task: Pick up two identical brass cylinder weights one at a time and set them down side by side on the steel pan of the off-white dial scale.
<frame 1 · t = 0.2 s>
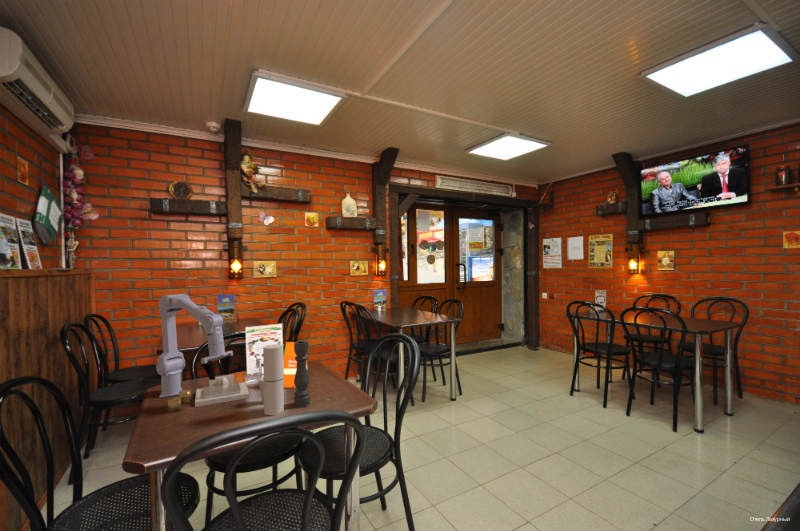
hand: (220, 377, 148), 11 cm above the table, tool pointing down, fingers open, 7 cm apart
cylindrical container: (274, 412, 138), on the table
smoothie: (267, 402, 148), on the table
brass weight a: (185, 400, 151), on the table
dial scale: (222, 395, 157), on the table
scale pan: (222, 389, 157), point 3 cm above the table, slide at -0.4 cm
candle holder: (302, 405, 145), on the table
brass weight b: (174, 409, 142), on the table
orange juice: (295, 385, 170), on the table
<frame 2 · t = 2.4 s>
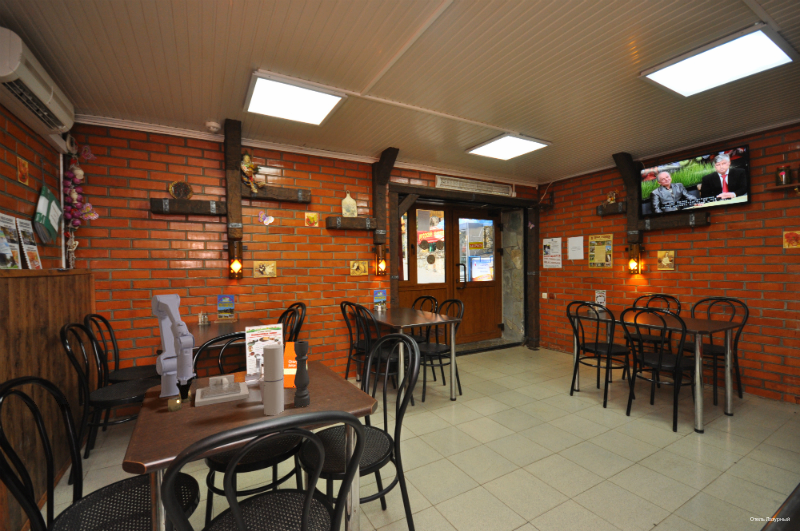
hand: (185, 397, 151), 1 cm above the table, tool pointing down, fingers closed on brass weight a, 4 cm apart
brass weight a: (185, 400, 151), on the table, touching gripper
everything else where it was.
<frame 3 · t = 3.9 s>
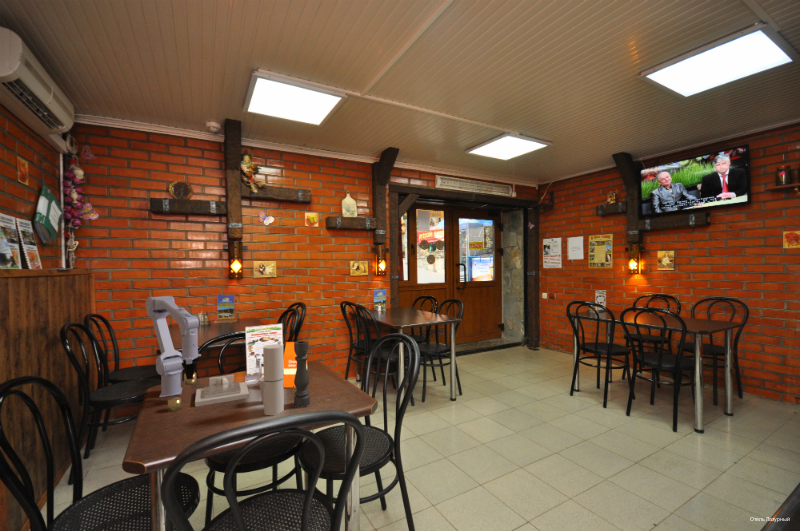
hand: (190, 377, 152), 9 cm above the table, tool pointing down, fingers closed on brass weight a, 4 cm apart
brass weight a: (190, 383, 152), point 7 cm above the table, touching gripper
everything else where it was.
when the fingers open (6 cm above the table, at t = 5.4 s): brass weight a stays where it is, resting on scale pan.
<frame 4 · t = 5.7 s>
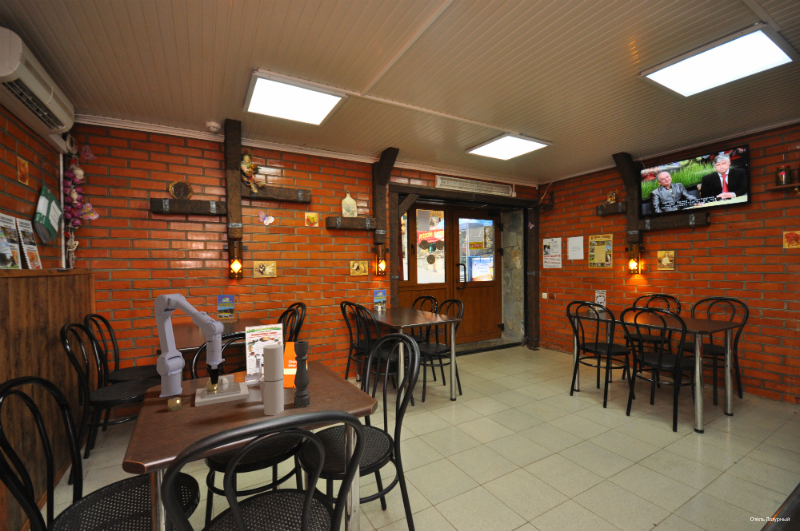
hand: (214, 381, 155), 6 cm above the table, tool pointing down, fingers open, 7 cm apart
brass weight a: (212, 389, 155), point 3 cm above the table, touching scale pan
scale pan: (222, 389, 157), point 3 cm above the table, slide at -0.4 cm, touching brass weight a
everything else where it was.
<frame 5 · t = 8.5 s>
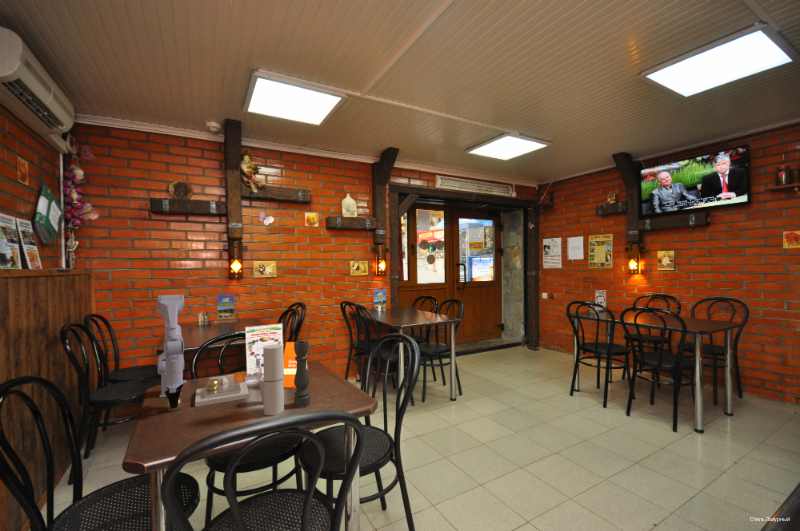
hand: (174, 405, 142), 1 cm above the table, tool pointing down, fingers closed on brass weight b, 4 cm apart
brass weight b: (174, 409, 142), on the table, touching gripper
everything else where it was.
when the fingers open (9 cm above the table, at t = 10.6 s): brass weight b drops 1 cm, point 5 cm above the table.
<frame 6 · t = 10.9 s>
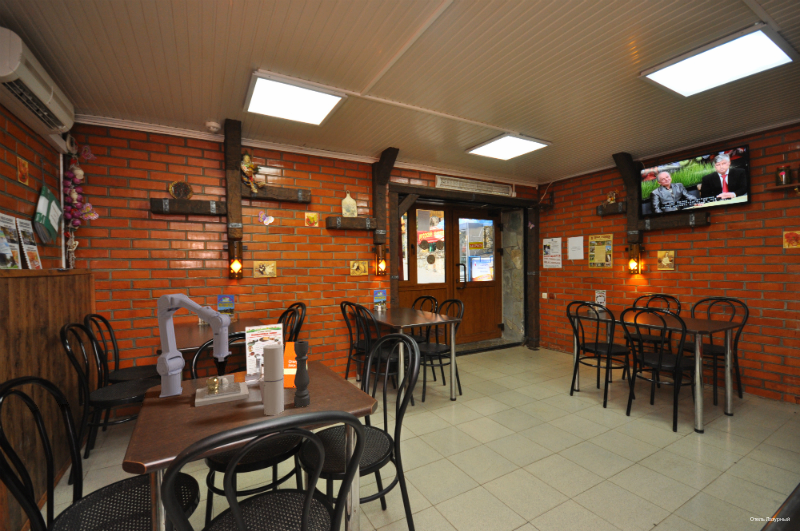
hand: (221, 374, 155), 9 cm above the table, tool pointing down, fingers open, 4 cm apart
brass weight b: (213, 387, 151), point 5 cm above the table, tilted 19°
everything else where it was.
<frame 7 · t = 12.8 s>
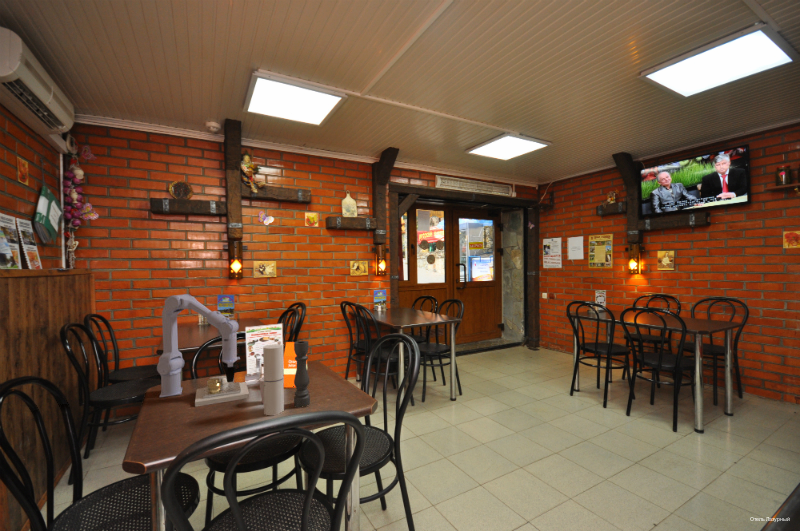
hand: (229, 379, 158), 6 cm above the table, tool pointing down, fingers open, 7 cm apart
scale pan: (222, 389, 157), point 3 cm above the table, slide at -0.5 cm, touching brass weight a, brass weight b
brass weight b: (215, 392, 152), point 3 cm above the table, touching scale pan
everything else where it was.
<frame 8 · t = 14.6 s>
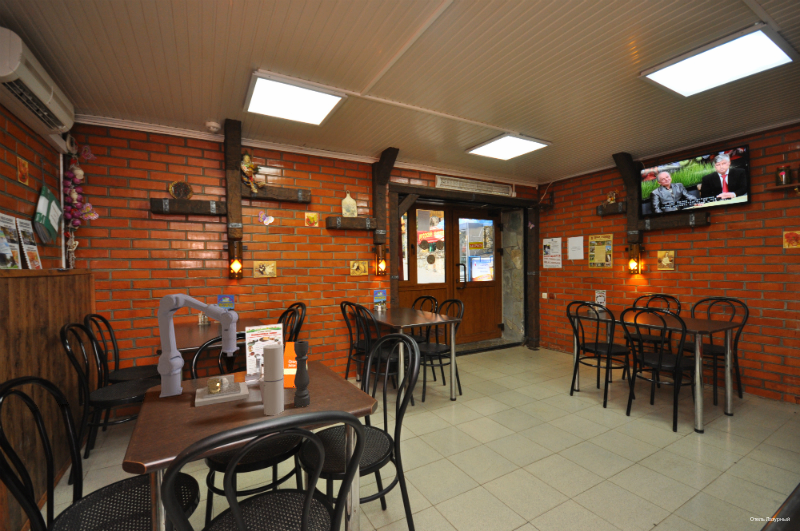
hand: (229, 369, 160), 10 cm above the table, tool pointing down, fingers open, 7 cm apart
nothing on the table moved.
at the end: brass weight a inside the target area on the scale pan (3.6 cm from its centre), point 1.0 cm above the scale pan's base; brass weight b inside the target area on the scale pan (5.0 cm from its centre), point 1.0 cm above the scale pan's base; brass weight b tilted 0° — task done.
